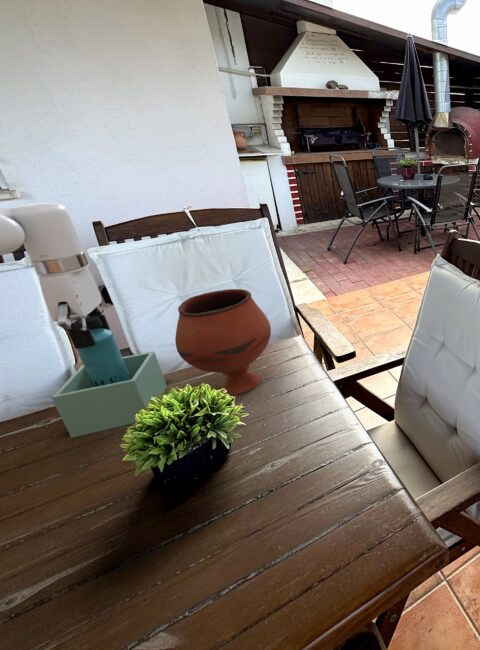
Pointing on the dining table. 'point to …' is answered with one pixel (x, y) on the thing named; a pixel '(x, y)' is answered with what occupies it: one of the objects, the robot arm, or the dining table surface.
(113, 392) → the bin
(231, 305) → the goblet
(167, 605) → the dining table surface
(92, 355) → the beverage bottle
